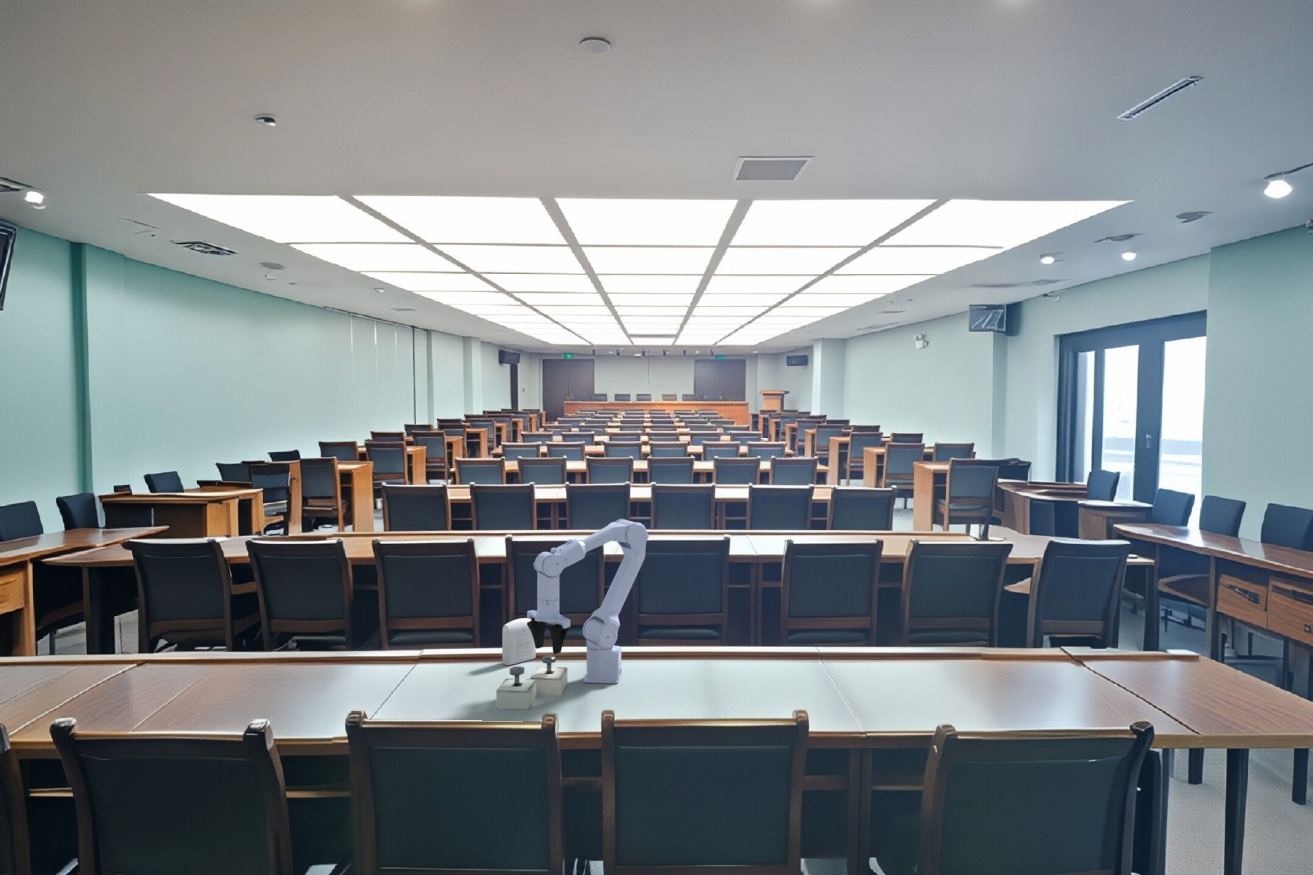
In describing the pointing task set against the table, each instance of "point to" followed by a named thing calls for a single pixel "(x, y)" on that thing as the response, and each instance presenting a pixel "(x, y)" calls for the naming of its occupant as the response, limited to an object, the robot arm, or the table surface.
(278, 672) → the table surface
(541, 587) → the robot arm
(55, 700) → the table surface
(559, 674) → the white square block
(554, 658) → the plunger
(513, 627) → the white rounded slab
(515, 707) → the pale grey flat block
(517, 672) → the plunger
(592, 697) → the table surface
